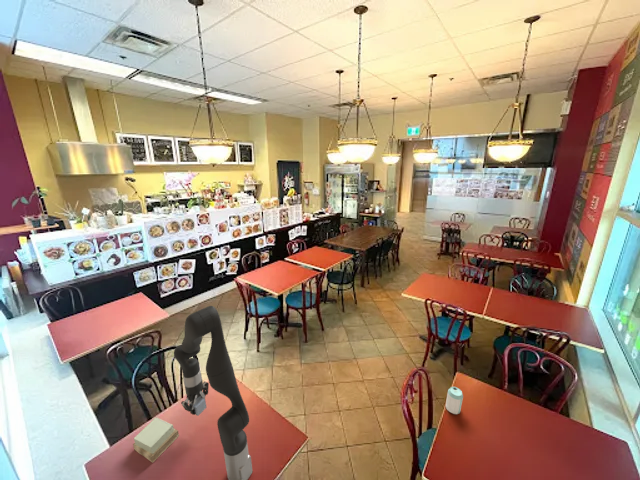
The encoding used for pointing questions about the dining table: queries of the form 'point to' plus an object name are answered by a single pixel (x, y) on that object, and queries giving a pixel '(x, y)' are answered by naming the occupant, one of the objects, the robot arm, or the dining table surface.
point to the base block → (160, 450)
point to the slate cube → (200, 406)
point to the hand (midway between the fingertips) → (198, 408)
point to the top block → (154, 435)
